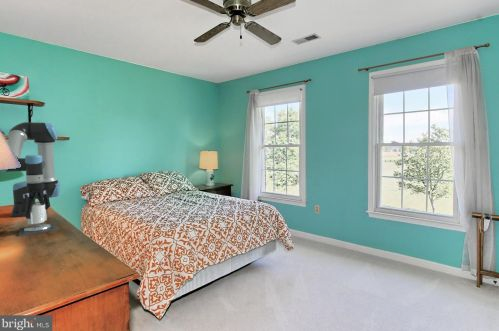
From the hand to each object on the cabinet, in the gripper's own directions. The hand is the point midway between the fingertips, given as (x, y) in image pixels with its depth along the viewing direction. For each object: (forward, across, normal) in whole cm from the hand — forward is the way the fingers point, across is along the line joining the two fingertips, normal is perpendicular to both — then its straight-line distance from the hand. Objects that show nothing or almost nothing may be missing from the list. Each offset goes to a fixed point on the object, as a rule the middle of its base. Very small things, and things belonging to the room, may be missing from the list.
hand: (37, 222), depth 154 cm
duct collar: (+5, 0, 0) cm, 5 cm away
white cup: (0, 0, 0) cm, 0 cm away
